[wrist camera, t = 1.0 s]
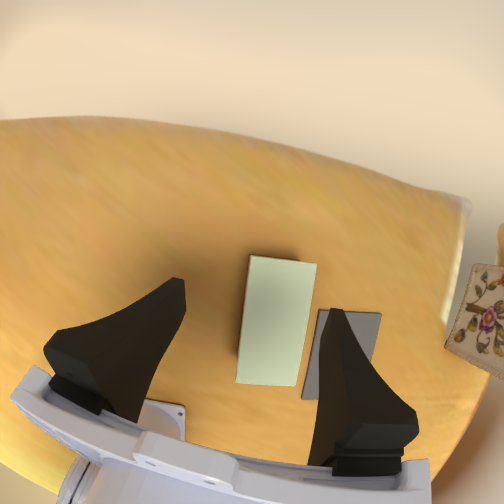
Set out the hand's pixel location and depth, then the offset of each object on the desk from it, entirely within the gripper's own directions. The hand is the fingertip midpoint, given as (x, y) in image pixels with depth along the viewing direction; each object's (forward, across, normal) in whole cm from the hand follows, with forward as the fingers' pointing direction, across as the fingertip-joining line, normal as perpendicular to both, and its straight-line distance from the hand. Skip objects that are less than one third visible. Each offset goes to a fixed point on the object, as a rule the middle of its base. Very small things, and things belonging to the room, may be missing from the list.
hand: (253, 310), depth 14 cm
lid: (+7, -1, +7) cm, 10 cm away
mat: (+10, -9, +13) cm, 19 cm away
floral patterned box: (+17, -29, +10) cm, 35 cm away
